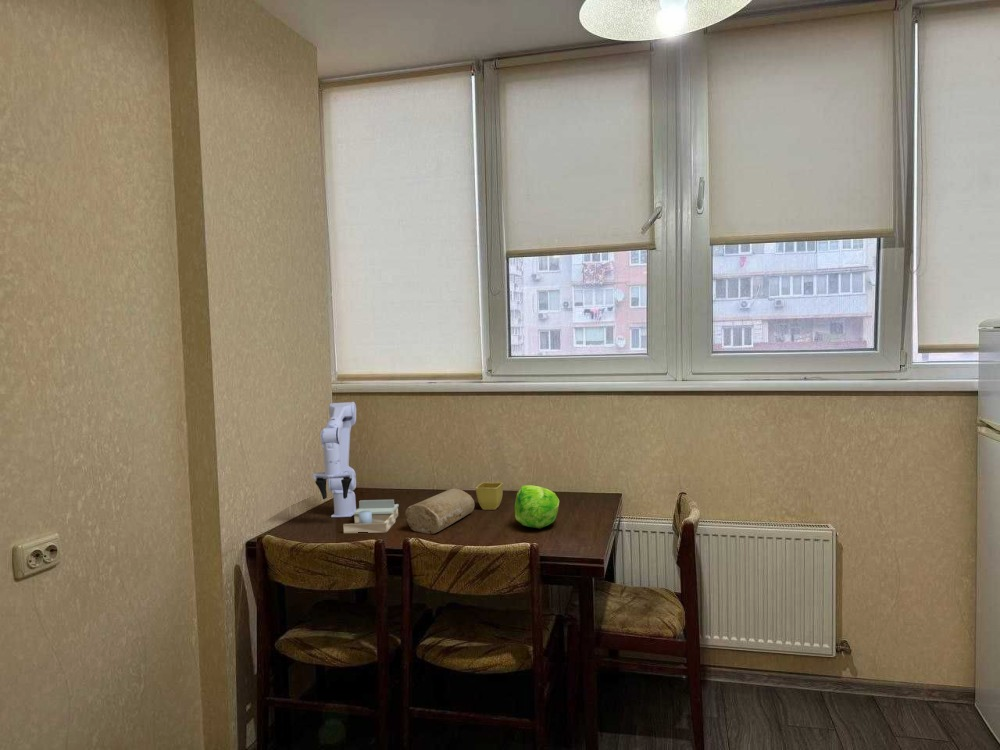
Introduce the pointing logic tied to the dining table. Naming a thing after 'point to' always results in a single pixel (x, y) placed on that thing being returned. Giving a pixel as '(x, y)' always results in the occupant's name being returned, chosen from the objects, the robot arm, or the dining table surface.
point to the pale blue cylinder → (365, 517)
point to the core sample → (439, 511)
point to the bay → (377, 526)
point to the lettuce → (536, 506)
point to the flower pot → (489, 495)
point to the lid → (377, 506)
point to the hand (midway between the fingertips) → (335, 498)
